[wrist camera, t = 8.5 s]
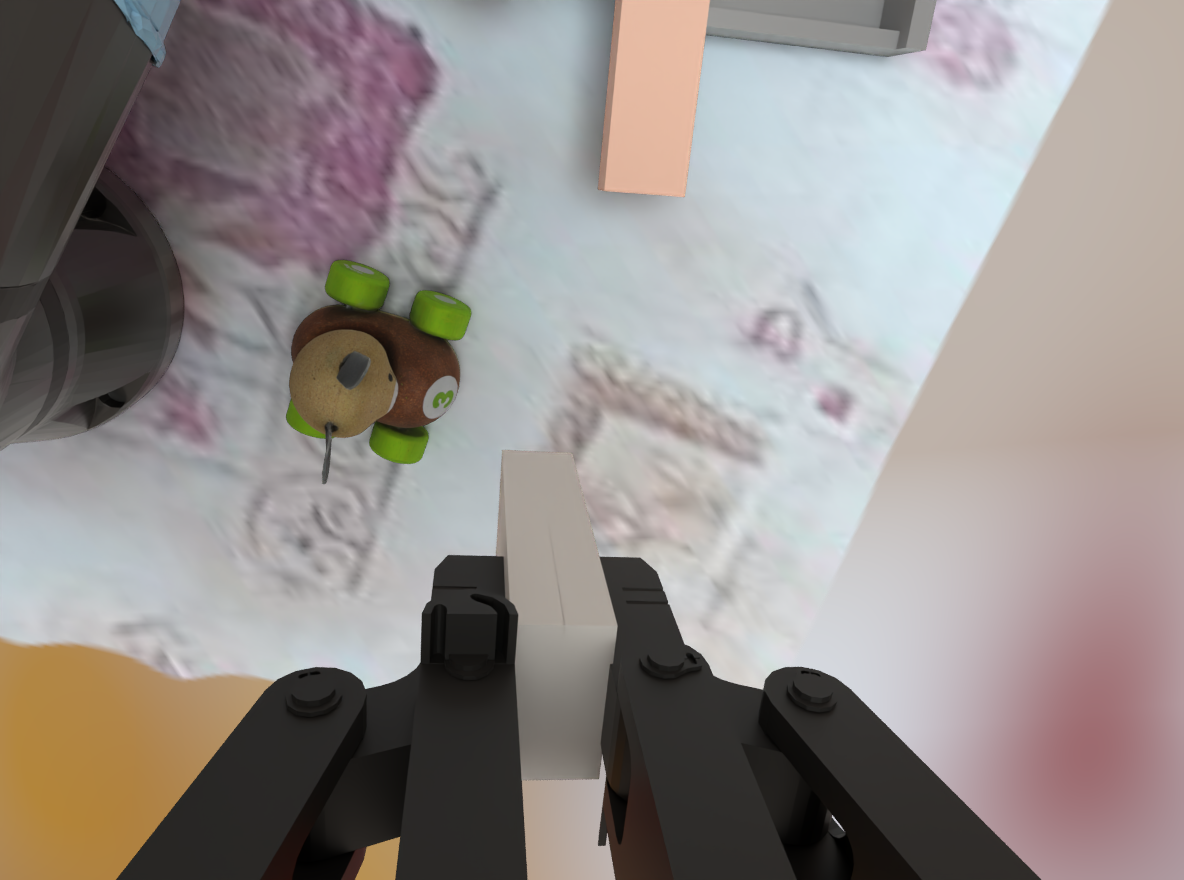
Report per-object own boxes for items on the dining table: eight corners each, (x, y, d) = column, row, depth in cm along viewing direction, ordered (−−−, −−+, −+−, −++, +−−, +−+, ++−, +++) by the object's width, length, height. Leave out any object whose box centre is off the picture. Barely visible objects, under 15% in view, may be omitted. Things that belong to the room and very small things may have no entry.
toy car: (432, 454, 47) (418, 546, 37) (279, 406, 45) (217, 489, 35) (484, 307, 45) (484, 361, 34) (323, 249, 43) (271, 288, 32)
